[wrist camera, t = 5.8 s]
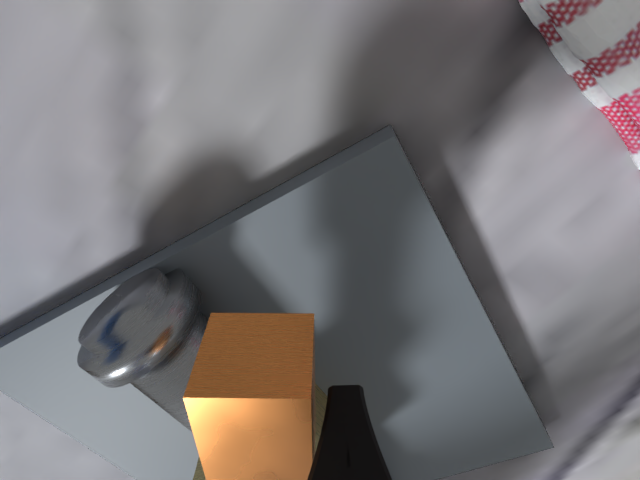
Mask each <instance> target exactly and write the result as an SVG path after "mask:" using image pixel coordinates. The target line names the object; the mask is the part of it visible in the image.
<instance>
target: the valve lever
mask: <svg viewBox="0 0 640 480" xmlns="http://www.w3.org/2000/svg"><path fill="white" fill-rule="evenodd" d="M183 400H184V403H185V407H186V411H187V414H188V418H189V421H190V425H191V428H192V432H193V435H194V439H195V443H196V446H197V450H198V453H199V457H200V460H201V464H202V467H203V471H204V475H205V478H206V480H307V479H308V476H309V473H310V470H311V466H312V463H313V459H314V456H315V429H316V403H315V332H314V313H211V314H210V317H209V320H208V323H207V326H206V329H205V332H204V335H203V338H202V341H201V344H200V347H199V350H198V353H197V356H196V360H195V363H194V366H193V369H192V372H191V375H190V378H189V381H188V384H187V387H186V390H185V393H184V396H183Z"/></svg>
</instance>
